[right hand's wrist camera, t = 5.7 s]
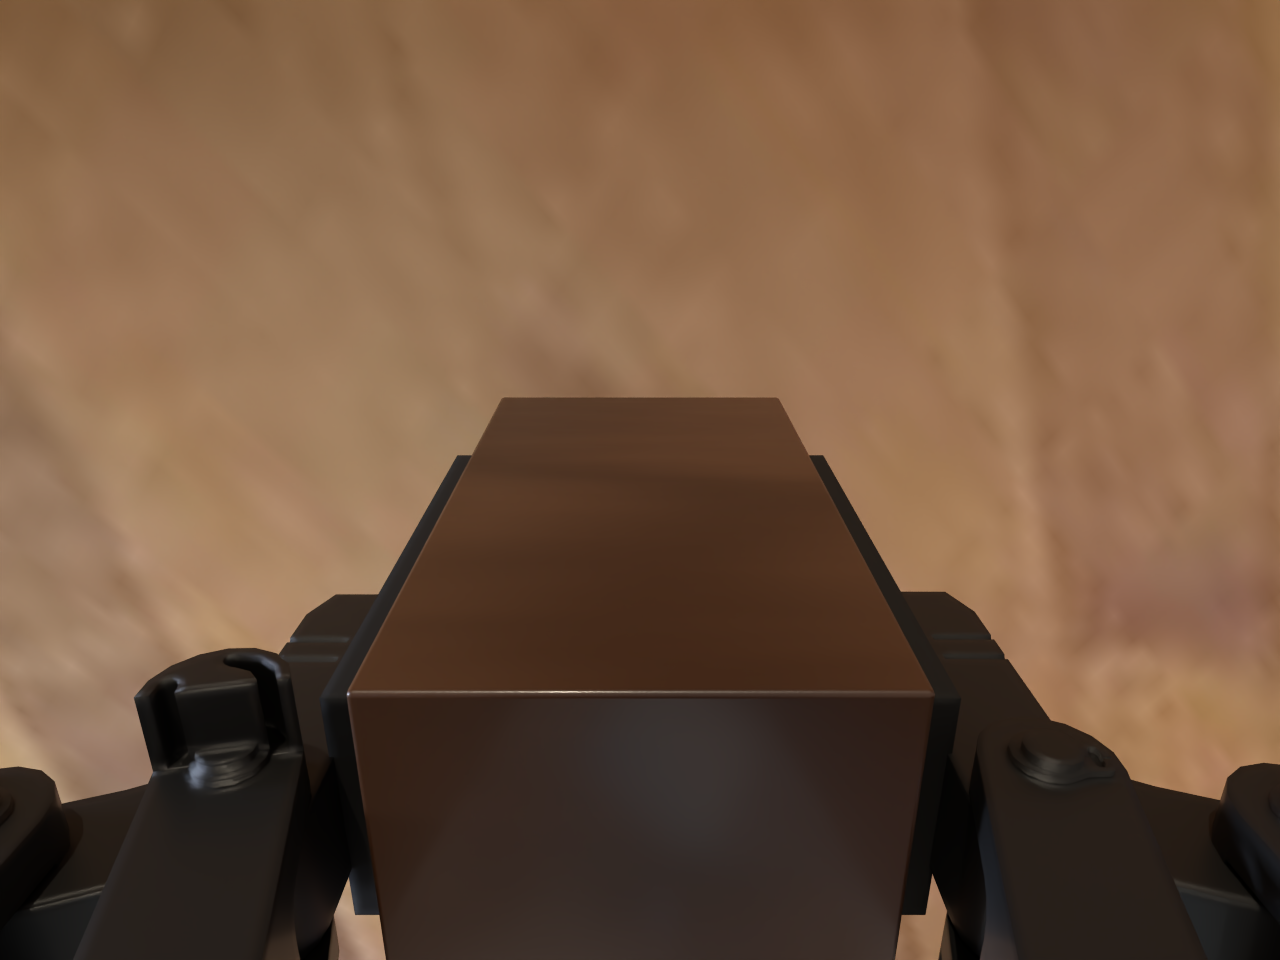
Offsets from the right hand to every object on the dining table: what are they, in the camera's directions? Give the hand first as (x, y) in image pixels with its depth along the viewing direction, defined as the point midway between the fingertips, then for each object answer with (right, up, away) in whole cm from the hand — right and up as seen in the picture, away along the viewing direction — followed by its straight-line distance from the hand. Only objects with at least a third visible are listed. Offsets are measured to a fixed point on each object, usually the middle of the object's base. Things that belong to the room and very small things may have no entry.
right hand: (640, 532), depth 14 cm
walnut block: (0, 0, 0) cm, 0 cm away
